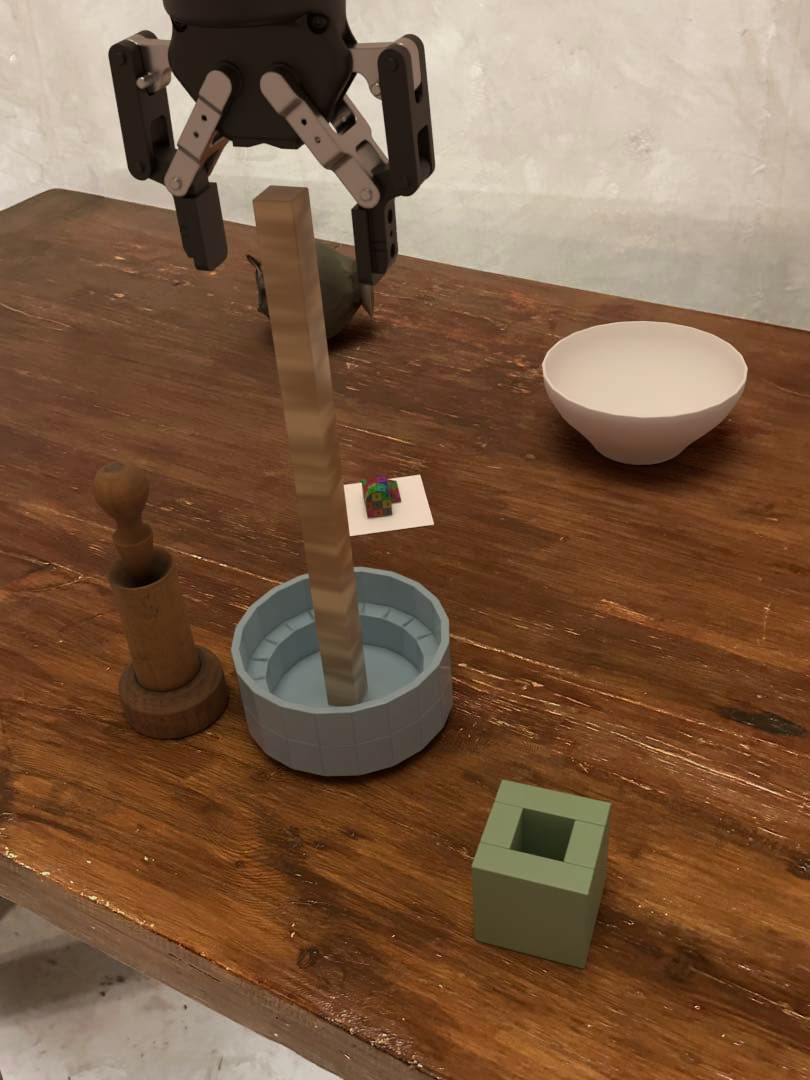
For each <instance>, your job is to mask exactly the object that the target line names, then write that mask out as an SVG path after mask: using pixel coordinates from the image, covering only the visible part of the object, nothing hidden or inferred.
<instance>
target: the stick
mask: <svg viewBox="0 0 810 1080" xmlns="http://www.w3.org/2000/svg"><path fill="white" fill-rule="evenodd" d="M251 202H252V209H253V215H254V222H255V228H256V236H257V242H258V243H257V244H258V250H259V255H260V256H259V257H260V260H261V263H262V270H263V276H264V283H265V289H266V296H267V303H268V309H269V316H270V320H269V322H270V329H271V336H272V342H273V348H274V355H275V361H276V369H277V375H278V381H279V388H280V395H281V400H282V401H281V403H282V408H283V409H282V410H283V415H284V422H285V428H286V435H287V441H288V448H289V449H288V450H289V454H290V463H291V467H292V474H293V475H292V476H293V481H294V488H295V494H296V501H297V508H298V509H297V510H298V514H299V522H300V528H301V534H302V541H303V547H304V554H305V561H306V567H307V568H306V569H307V574H308V575H309V582H310V588H311V595H312V602H313V608H314V615H315V622H316V628H317V635H318V641H319V648H320V655H321V661H322V668H323V675H324V681H325V688H326V695H327V701H328V704H330V705H335V706H340V707H343V706H353V705H357V704H360V703H361V701H362V699H363V697H364V696H365V694H366V692H367V690H368V684H367V675H366V667H365V658H364V650H363V642H362V633H361V625H360V616H359V608H358V600H357V591H356V583H355V575H354V567H355V566H354V559H353V551H352V550H353V549H352V543H351V536H350V533H349V524H348V516H347V507H346V499H345V491H344V485H345V483H344V475H343V467H342V458H341V457H342V456H341V449H340V442H339V434H338V426H337V416H336V408H335V400H334V399H335V398H334V390H333V383H332V374H331V366H330V357H329V348H328V339H327V340H326V331H325V323H324V315H323V306H322V298H321V289H320V281H319V273H318V264H317V256H316V248H315V233H314V224H313V215H312V207H311V198H310V190H309V187H307V186H293V185H292V186H291V185H275V184H271V185H270V184H269V185H268V186H267V187H266V188H265V189H264V190H262V191H261V192H260V193H259V194H258V195H256V196H255V197H254V198H253V199H252V200H251Z"/></svg>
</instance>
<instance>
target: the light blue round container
mask: <svg viewBox="0 0 810 1080" xmlns="http://www.w3.org/2000/svg"><path fill="white" fill-rule="evenodd" d="M354 575H355V583H356V591H357V600H358V608H359V616H360V625H361V633H362V642H363V650H364V658H365V667H366V675H367V684H368V690H367V692H366V694H365V696H364V697H363V699H362V701H361V703H360V704H357V705H353V706H343V707H340V706H335V705H330V704H328V701H327V695H326V688H325V681H324V675H323V668H322V661H321V655H320V648H319V641H318V635H317V628H316V622H315V615H314V608H313V602H312V595H311V588H310V582H309V575H308V573H305V574H300V575H298V576H296V577H294V578H291V579H289V580H287V581H285V582H283V583H281V584H278V585H276V586H274V587H273V588H271V589H269V590H268V591H267V592H266V593H265V594H263V595H262V596H261V597H260V598H258V599H257V600H256V601H254V602H253V603H252V604H251V605H250V606H249V607H248V608H247V610H246V611H245V613H244V614H243V616H242V617H241V618H240V620H239V621H238V622H237V624H236V626H235V628H234V632H233V638H232V643H231V647H230V654H231V659H232V664H233V667H234V672H235V677H236V681H237V687H238V692H239V696H240V700H241V701H240V702H241V705H242V709H243V714H244V718H245V723H246V726H247V730H248V733H249V735H250V736H251V738H252V739H253V740H254V741H255V743H256V744H257V745H258V746H259V747H260V749H261V750H262V751H263V752H264V754H265V755H267V756H268V757H270V758H272V759H273V760H275V761H277V762H279V763H281V764H282V765H284V766H286V767H288V768H290V769H292V770H295V771H300V772H305V773H309V774H313V775H318V776H320V777H321V776H322V777H349V776H350V777H354V776H355V777H356V776H363V775H366V774H370V773H375V772H377V771H381V770H384V769H389V768H392V767H394V766H396V765H398V764H400V763H402V762H403V761H405V760H407V759H408V758H410V757H412V756H414V755H416V754H418V753H419V752H421V751H422V750H423V749H424V748H425V747H426V746H427V745H428V744H429V743H430V742H431V741H432V740H433V739H434V738H435V737H436V736H437V735H438V734H439V733H440V732H441V731H442V729H444V727H445V724H446V722H447V720H448V717H449V715H450V712H451V710H452V708H453V706H454V686H453V685H454V684H453V681H454V680H453V664H452V645H451V631H450V630H451V628H450V627H451V626H450V618H449V617H448V614H447V613H446V610H445V609H444V607H443V605H442V604H441V601H440V599H438V597H437V596H436V595H434V594H433V593H432V592H431V591H429V589H427V588H426V587H425V586H424V585H422V584H421V583H420V582H418V581H416V580H414V579H411V578H409V577H406V576H404V575H402V574H400V573H397V572H395V571H392V570H385V569H378V568H372V567H366V566H354Z"/></svg>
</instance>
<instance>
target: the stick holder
mask: <svg viewBox="0 0 810 1080" xmlns="http://www.w3.org/2000/svg"><path fill="white" fill-rule="evenodd" d="M611 812H612V803H611V802H608V801H604V800H600V799H599V800H598V799H594V798H590V797H587V796H586V797H585V796H581V795H577V794H571V793H566V792H563V791H559V790H553V789H549V788H544V787H540V786H536V785H535V786H534V785H530V784H526V783H522V782H521V783H520V782H517V781H512V780H507V779H501V782H500V784H499V787H498V790H497V793H496V795H495V798H494V802H493V804H492V806H491V809H490V812H489V816H488V818H487V821H486V823H485V826H484V829H483V833H482V836H481V838H480V841H479V843H478V846H477V848H476V852H475V854H474V858H473V859H472V863H471V866H470V867H471V869H470V870H471V888H472V891H471V892H472V907H473V928H474V929H473V930H474V941H476V942H480V943H484V944H488V945H491V946H496V947H499V948H503V949H506V950H511V951H514V952H519V953H521V954H526V955H530V956H534V957H537V958H541V959H543V960H544V959H545V960H548V961H553V962H556V963H559V964H564V965H567V966H570V967H571V966H572V967H575V968H579V969H582V970H584V969H585V968H586V964H587V960H588V955H589V951H590V947H591V942H592V939H593V935H594V931H595V926H596V922H597V918H598V914H599V910H600V906H601V900H602V898H603V893H604V890H605V884H606V881H607V874H608V857H609V844H610V843H609V842H610V828H611V827H610V826H611Z"/></svg>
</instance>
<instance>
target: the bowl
mask: <svg viewBox="0 0 810 1080" xmlns="http://www.w3.org/2000/svg"><path fill="white" fill-rule="evenodd" d="M541 370H542V376H543V385H544V389H545V392H546V394H547V396H548V398H549V401H551V403H552V404H553V406H554V407H555V408H556V410H557V412H558V413H559V415H560V416H561V417H562V419H564V421H565V422H566V423H567V424H568V425H569V426H570V427H572V428H574V429H575V430H576V431H577V432H578V433H580V435H582V436H583V437H584V438H585V439H586V440H587V441H588V442H589V443H590V444H591V445H592V446H593V447H594V449H595V450H596V451H597V452H598V453H600V454H601V455H602V456H603V457H605V458H608V459H609V460H612V461H615V462H616V463H617V462H618V463H621V464H626V465H634V466H648V465H649V466H650V465H655V464H661V463H664V462H667V461H670V460H671V459H674V458H675V457H677V456H678V455H680V454H681V453H682V452H683V451H684V450H686V448H687V447H689V445H691V444H692V443H694V442H696V441H697V440H698V439H700V438H701V437H703V436H705V435H706V434H708V433H709V432H711V431H712V430H713V429H714V428H716V427H717V426H718V425H720V424H721V423H722V422H723V421H724V420H725V419H726V418H727V417H728V415H729V414H730V413H731V412H732V411H733V409H734V407H735V406H736V405H737V404H738V402H739V400H740V399H741V397H742V395H743V394H744V390H745V387H746V383H747V377H748V370H749V367H748V366H747V364H746V361H745V359H744V357H743V355H742V354H741V353H740V351H738V350H737V349H736V348H735V347H734V346H733V345H732V344H731V343H729V342H728V341H725V340H724V339H722V338H720V337H719V336H717V335H715V334H713V333H710V332H707V331H704V330H702V329H698V328H695V327H692V326H687V325H681V324H678V323H677V324H676V323H672V322H662V321H651V320H650V321H649V320H648V321H647V320H636V321H635V320H632V321H617V322H611V323H605V324H600V325H599V324H598V325H594V326H591V327H587V328H584V329H581V330H578V331H575V332H573V333H571V334H569V335H567V336H565V337H564V338H562V339H560V340H558V341H557V342H556V343H555V344H554V345H553V346H552V347H551V348H550V349H548V351H547V352H546V354H545V356H544V359H543V361H542V363H541Z"/></svg>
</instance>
